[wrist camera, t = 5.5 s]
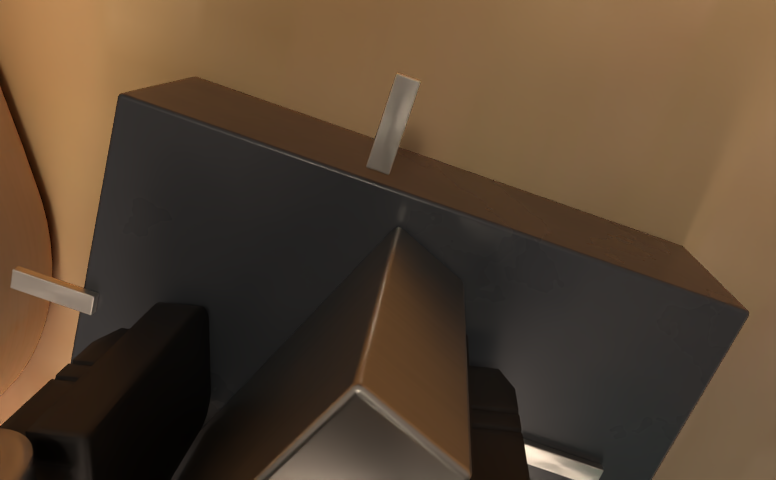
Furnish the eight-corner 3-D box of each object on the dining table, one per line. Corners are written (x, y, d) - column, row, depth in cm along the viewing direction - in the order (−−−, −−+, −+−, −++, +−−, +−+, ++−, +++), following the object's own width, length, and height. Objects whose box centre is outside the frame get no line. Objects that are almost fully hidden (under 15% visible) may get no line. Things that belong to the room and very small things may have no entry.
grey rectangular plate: (398, 222, 10) (352, 398, 5) (466, 282, 10) (478, 501, 5) (174, 457, 11) (-3, 736, 7) (235, 503, 12) (101, 802, 7)
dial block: (724, 169, 12) (815, 219, 9) (509, 576, 16) (523, 708, 13) (155, -31, 12) (53, -48, 9) (70, 428, 15) (-23, 527, 12)
